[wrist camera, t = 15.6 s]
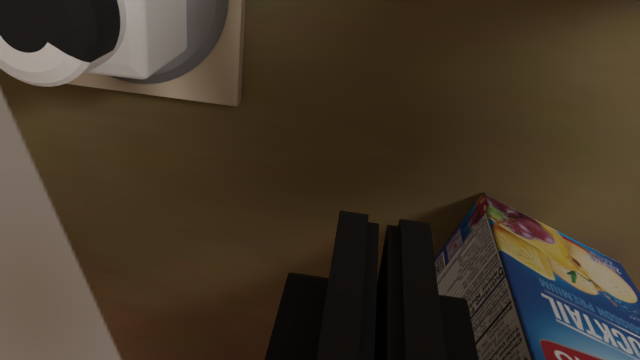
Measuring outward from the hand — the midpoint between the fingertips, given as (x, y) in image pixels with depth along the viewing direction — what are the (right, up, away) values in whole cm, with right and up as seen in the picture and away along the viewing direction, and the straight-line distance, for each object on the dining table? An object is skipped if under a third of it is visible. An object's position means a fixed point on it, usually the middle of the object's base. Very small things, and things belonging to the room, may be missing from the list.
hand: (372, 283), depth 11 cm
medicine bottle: (-13, +14, +25) cm, 31 cm away
